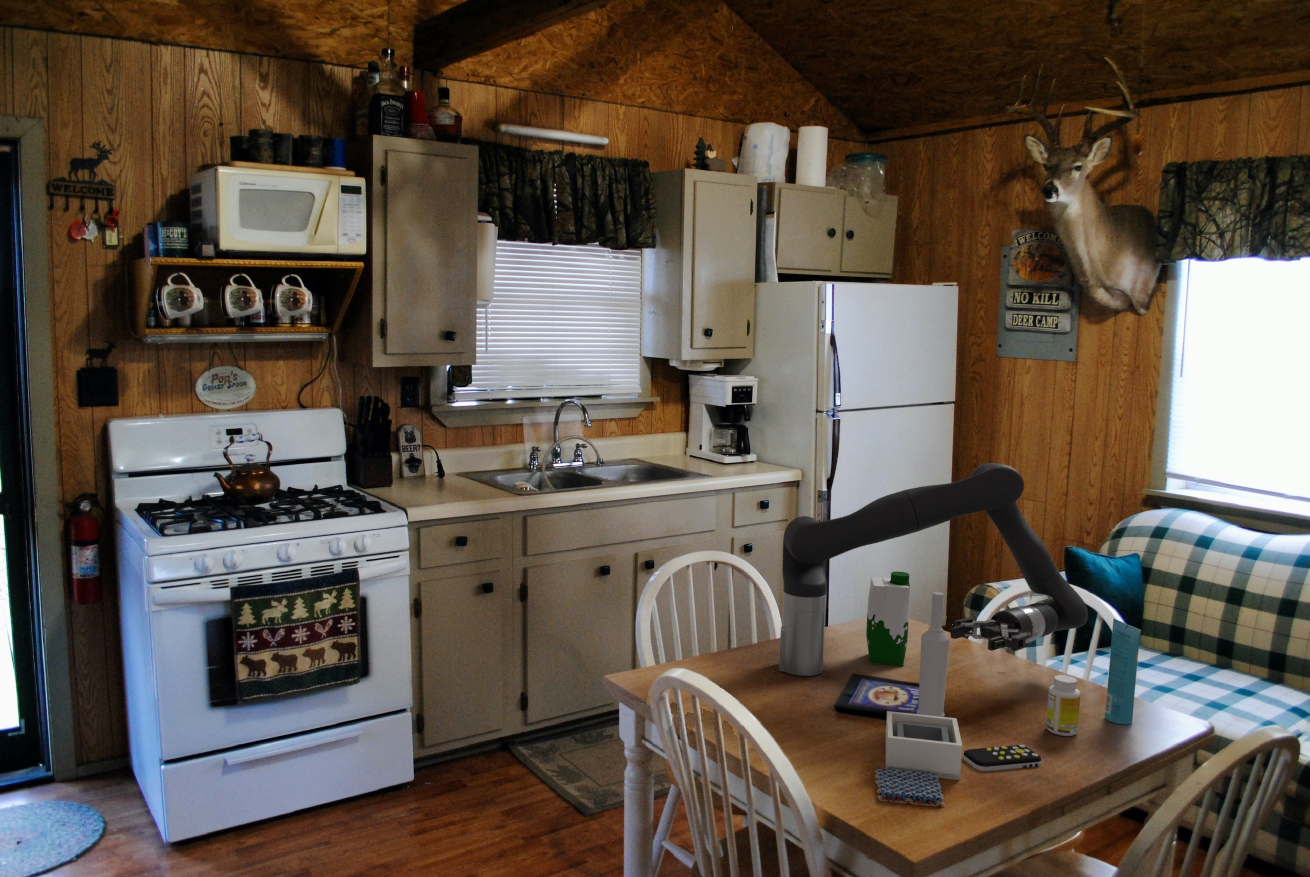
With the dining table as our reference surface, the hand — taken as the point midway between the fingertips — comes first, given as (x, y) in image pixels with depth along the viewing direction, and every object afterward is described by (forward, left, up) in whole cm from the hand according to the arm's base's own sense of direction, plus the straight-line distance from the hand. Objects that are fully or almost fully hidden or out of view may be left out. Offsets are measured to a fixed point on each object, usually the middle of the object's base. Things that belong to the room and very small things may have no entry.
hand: (970, 639), depth 198 cm
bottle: (-7, -9, -14) cm, 18 cm away
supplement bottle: (+17, -7, -14) cm, 23 cm away
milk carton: (-15, +25, -14) cm, 33 cm away
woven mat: (-12, -40, -15) cm, 44 cm away
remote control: (+4, -24, -15) cm, 28 cm away
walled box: (-10, -28, -14) cm, 33 cm away
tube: (+29, +2, -14) cm, 32 cm away
